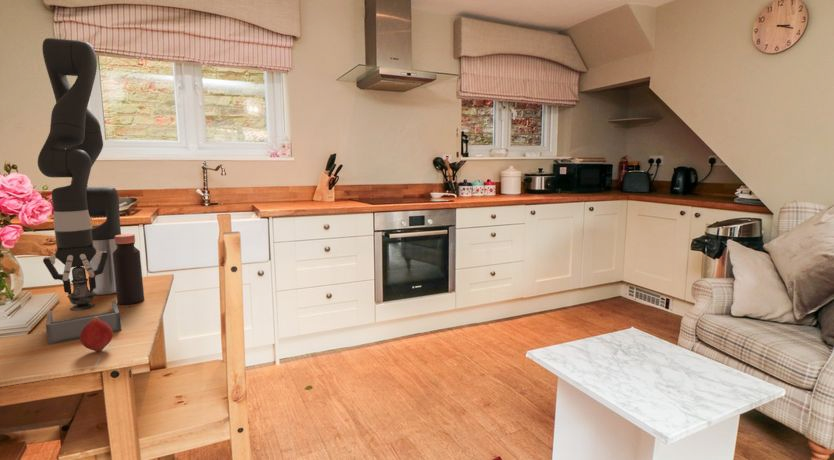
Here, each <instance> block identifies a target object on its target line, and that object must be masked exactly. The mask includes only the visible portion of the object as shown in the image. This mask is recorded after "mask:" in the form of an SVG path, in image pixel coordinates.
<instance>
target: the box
mask: <svg viewBox="0 0 834 460" xmlns="http://www.w3.org/2000/svg"><path fill="white" fill-rule="evenodd" d="M117 304H118V303H117V301H116V300H112V301H111V308H112V309H111V310H112V311H107V312H101V313H95V314H90V315H83V316H77V317H71V318H65V319H59V320H54V318H53V311H52V310H48V311H47V313H46V322H45V330H46V337H47V344H48V345H53V344H57V343H64V342H68V341H73V340H78V339H79V340H80V334H81V331H82V330H83V328H84V327H85V326H86V325H87V324H88V323H89V322H90V321H91V320H92V319H93V318H94V317H98V318H99V320H100V321H103V322H105V323H107V324H108V325H109V326H110V327H111V329H112V331H113V333H114V332H119V331H122V325H121V324H122V323H121V315H120V310H119V308H118V307H119V306H118V305H117Z"/></svg>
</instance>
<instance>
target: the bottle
mask: <svg viewBox="0 0 834 460" xmlns="http://www.w3.org/2000/svg"><path fill="white" fill-rule="evenodd" d="M114 237H115V244H116V245H117V249H116V250H115V251H114V252H113V264H114V274H115V283H116V293H115V294H116V300H117V301H116V303H117V304H119V305H121V306H122V305H125V306H126V305H134V304H138V303H141V302H143V301H144V300H145V292H144V282H143V272H142V271H143V270H142V262H141V260H142V259H141V251H140V250H139V249H138V248H137V247H136V246H135V244H136V236H135V234H134V233H123V234H122V233H121V235H116V236H114Z"/></svg>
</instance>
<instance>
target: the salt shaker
mask: <svg viewBox="0 0 834 460" xmlns="http://www.w3.org/2000/svg"><path fill="white" fill-rule="evenodd" d="M71 275H72V276H71V277H72V280H70V283H72V289H73V291H72V292H71V293H72V294H69V295H68V294H67V298H68V299H69V301H70V303H71V304H72V305H73V306H72V307H70V309H69V310H70V311H73V312H77V311H78V312H80V311H86V310H90V309H93V308H95V306H96V304H94V303H93V302H92V301H93V300H94V298H95V295H96V294H95V292H93V291H90V288H89V285H88V282H89V278H87V271H86V268H85V266H76V267H72V268H71Z"/></svg>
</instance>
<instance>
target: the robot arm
mask: <svg viewBox="0 0 834 460" xmlns="http://www.w3.org/2000/svg"><path fill="white" fill-rule="evenodd" d="M41 45H42V48H41V49H42V57H43V60H44V63H45V65H44V66H45V69H46V72H47V74H48V77H49V81H50V85H51V88H52V91H53V94H54V99H55V104H54V105H53V108H52V111H51V116H50V126H49V127H50V129H49V133H48V136H47V137H46V139H45V142H44V144H43V146H42V147H41V149H40V151H39V154H38V155H37V156H38V157H37V167H38V170H39V171H40V172H41V174H42V175H44V176H46V177H48V178H56V179H57V178H71V183H70V184H69V185H65V186H61V187H60V186H59V187H56V188H54V189H52V190H51V200H52V201H51V202H52V208H53V229H54V238H55V244H56V251H55V253H54V254H53V255H50V256H45V257H43V259H42V263H44V266H45V267H46V269H47V270H48V272H49V273H50V275H51V277H52V278H53V280H55V281H56V280H58V281H59V280H60V281H62V284H63V291H64V293H67V296H68V295H70V294H72V293H73V292H72V288H71V285H72V284H71V279H70V274H71V271H72V269H73V268H75V267H76V266H81V267H84V268H85V271H86V273H87V274H88V276H87V277H88V278H87V279H88V288H89V291H93V292H95V294H94V295H98V296H99V295H101V296H102V295H111V294H117V293H116V283H115V274H114V264H113V252H114V251H115V250H116V249H117V245H116V244H115V237H114V236H116V235H121V234H122V231H121V219H120V198H119V193H118V192H119V191H118V190H117V189H116V188H115V187H113V186H88V183H89V179H90V178H89V177H90V175H91V171H92V167H93V166H94V164H95V162H96V161H97V159H98V158H99V156H100V154H101V152H102V150H103V147H104V140H103V135H102V129H101V125H100V122H99V120H98V119H97V117H96V116H95V115H94V114H93V113H92V111H90V109H89V108H88V105H89V102H90V98H91V95H92V91H93V89H94V88H93V86H94V83H95V79H96V75H97V67H98V60H97V59H98V58H97V54H96V52H95V51H96V50H95V49H94V47H93V46H92V44H91V43H89V42H87V41H83V40H75V39H64V38H54V37H53V38H52V37H47V38H45V39H43V42H42V44H41ZM68 76H71V77H76V80H75V82H74V83H73V84H72V86H71V85H70V82H69V80H68ZM95 217H96V218H98V217H101V218H102V217H106V219H105V221H104V222H103V223H101V224H99V225H96V226H94V227H92V222H91V218H95ZM56 259H57V260H58V261H59V262H61V263H62V264H63V265H64V268H63V272H62V273H59V272H58V270H57V269H56V266H55V264H56Z"/></svg>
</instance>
